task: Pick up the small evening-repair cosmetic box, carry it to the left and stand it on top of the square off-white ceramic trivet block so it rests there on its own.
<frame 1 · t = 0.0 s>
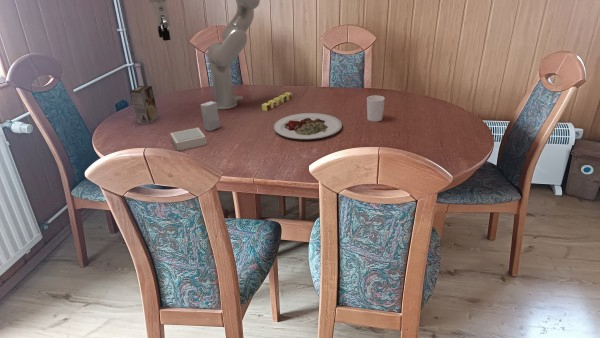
hand: (164, 38, 185), 37 cm above the table, tool pointing down, fingers open, 9 cm apart
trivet: (189, 143, 171), on the table
coffee box: (148, 120, 197), on the table
skincare box: (212, 129, 184), on the table
white cup: (374, 119, 186), on the table
yellow segmented block row: (281, 105, 211), on the table
plated food: (308, 129, 179), on the table
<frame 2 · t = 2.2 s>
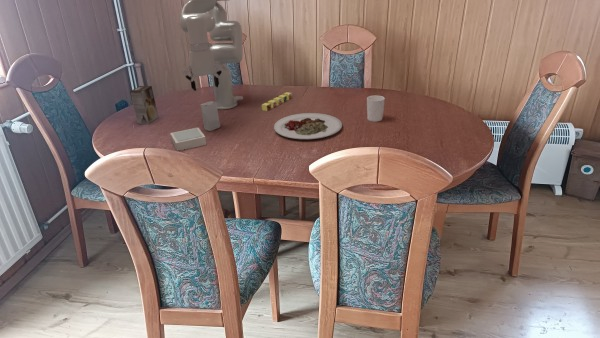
hand: (205, 88, 174), 19 cm above the table, tool pointing down, fingers open, 9 cm apart
nothing on the table moved.
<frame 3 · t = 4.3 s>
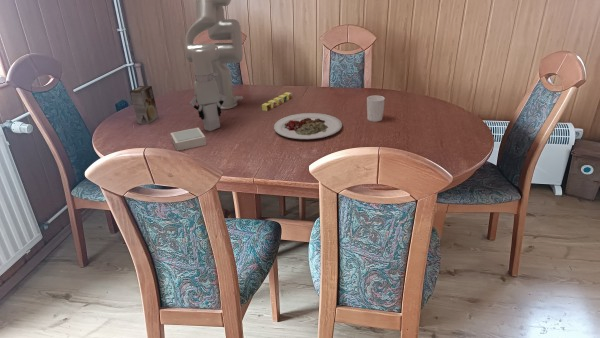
hand: (210, 116, 181), 6 cm above the table, tool pointing down, fingers closed on skincare box, 7 cm apart
skincare box: (212, 129, 184), on the table, touching gripper
everything else where it was.
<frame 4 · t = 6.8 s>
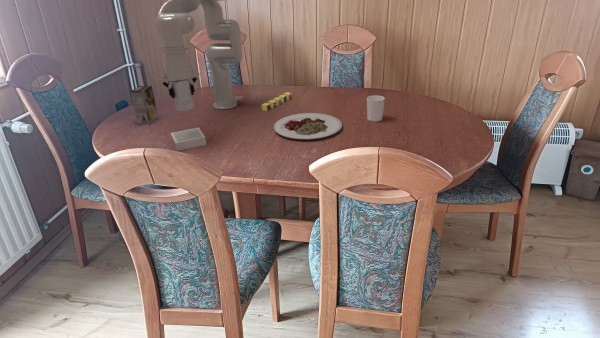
hand: (182, 95, 162), 20 cm above the table, tool pointing down, fingers closed on skincare box, 7 cm apart
skincare box: (185, 109, 165), point 14 cm above the table, touching gripper
everything else where it was.
when the fingers open (11 cm above the table, at t = 9.6 s): skincare box drops 1 cm, point 4 cm above the table.
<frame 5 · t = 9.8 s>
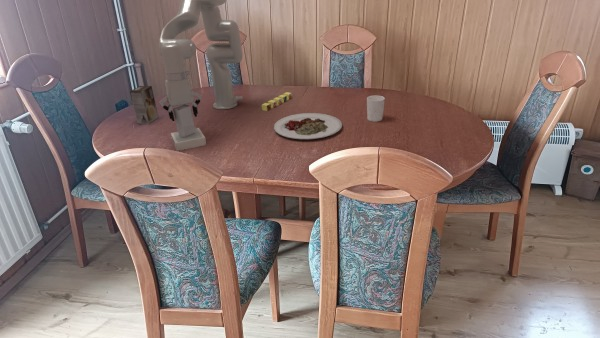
hand: (184, 117, 165), 11 cm above the table, tool pointing down, fingers open, 8 cm apart
skincare box: (187, 134, 169), point 4 cm above the table
everything else where it was.
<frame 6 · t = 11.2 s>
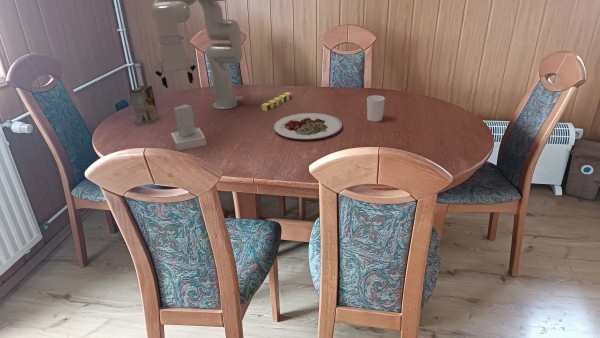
hand: (178, 84, 159), 25 cm above the table, tool pointing down, fingers open, 9 cm apart
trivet: (189, 143, 171), on the table, touching skincare box
skincare box: (187, 134, 169), point 4 cm above the table, touching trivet
everything else where it was.
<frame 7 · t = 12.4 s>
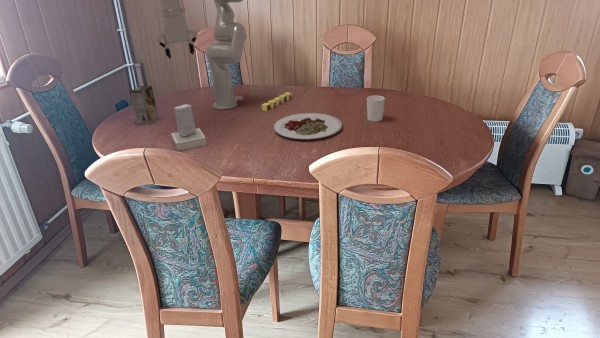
hand: (180, 55, 173), 32 cm above the table, tool pointing down, fingers open, 9 cm apart
nothing on the table moved.
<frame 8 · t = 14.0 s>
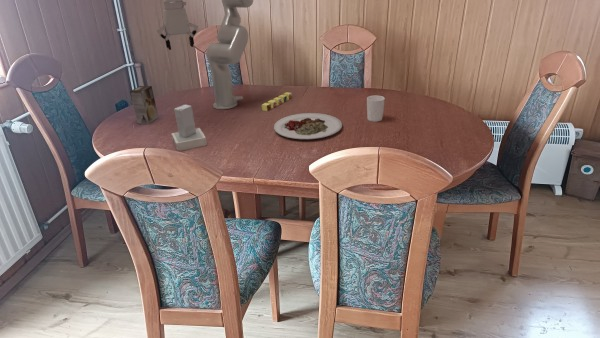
hand: (181, 47, 177), 34 cm above the table, tool pointing down, fingers open, 9 cm apart
nothing on the table moved.
at the end: skincare box inside the target area on the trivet (0.3 cm from its centre), point 4.1 cm above the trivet's base; skincare box tilted 1°; the gripper is holding nothing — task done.
